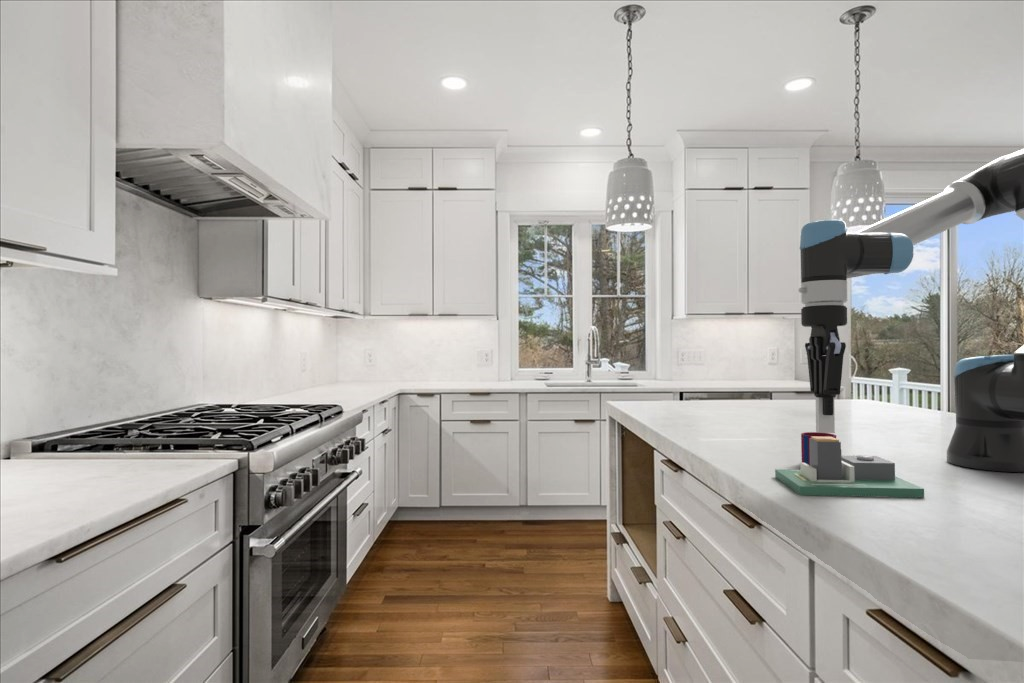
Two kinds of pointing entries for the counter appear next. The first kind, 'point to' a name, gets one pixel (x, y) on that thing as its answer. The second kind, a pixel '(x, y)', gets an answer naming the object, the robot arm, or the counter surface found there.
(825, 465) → the grey upright block
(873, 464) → the grey box with tab
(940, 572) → the counter surface
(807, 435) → the mug
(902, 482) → the board
